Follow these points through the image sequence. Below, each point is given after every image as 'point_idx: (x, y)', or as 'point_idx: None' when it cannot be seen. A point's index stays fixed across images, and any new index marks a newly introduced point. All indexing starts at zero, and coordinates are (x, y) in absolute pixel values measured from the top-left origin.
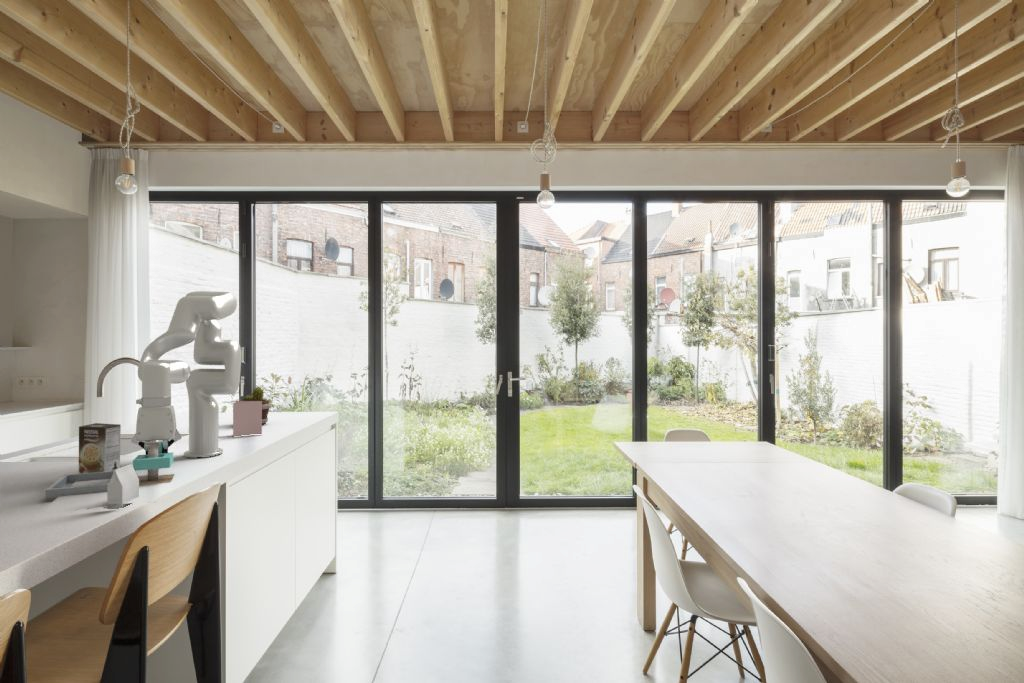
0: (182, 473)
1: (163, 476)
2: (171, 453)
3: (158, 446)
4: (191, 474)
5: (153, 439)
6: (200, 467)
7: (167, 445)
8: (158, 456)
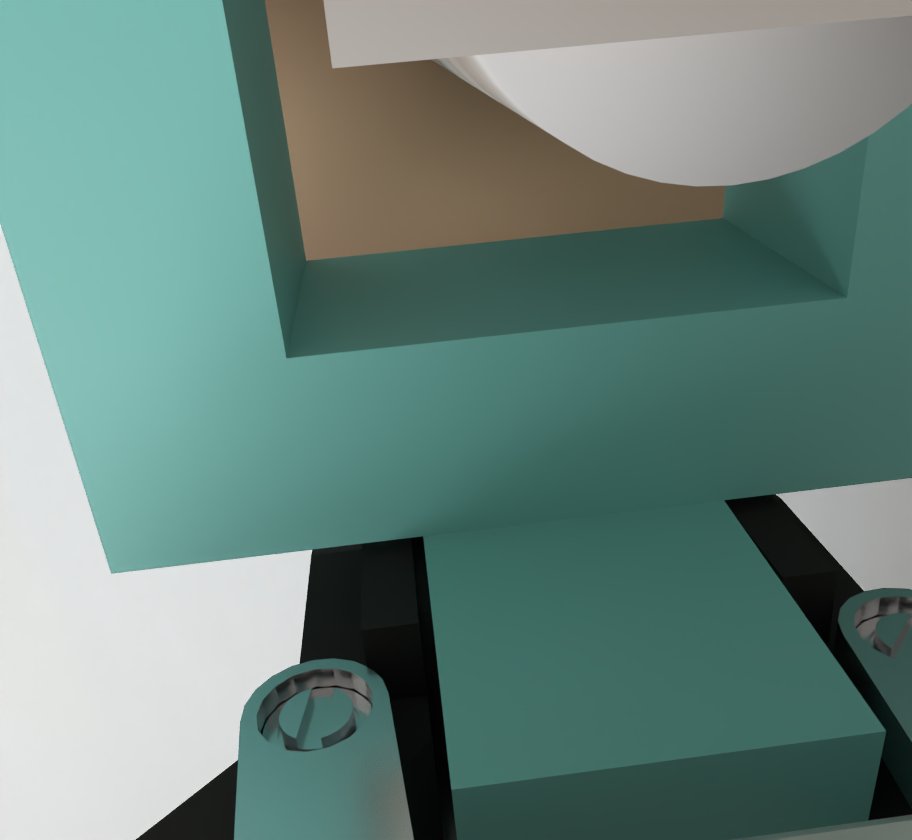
0: (181, 575)
1: (344, 203)
2: (91, 402)
3: (555, 687)
4: (11, 482)
5: (900, 828)
6: (41, 830)
7: (256, 763)
8: (465, 312)
